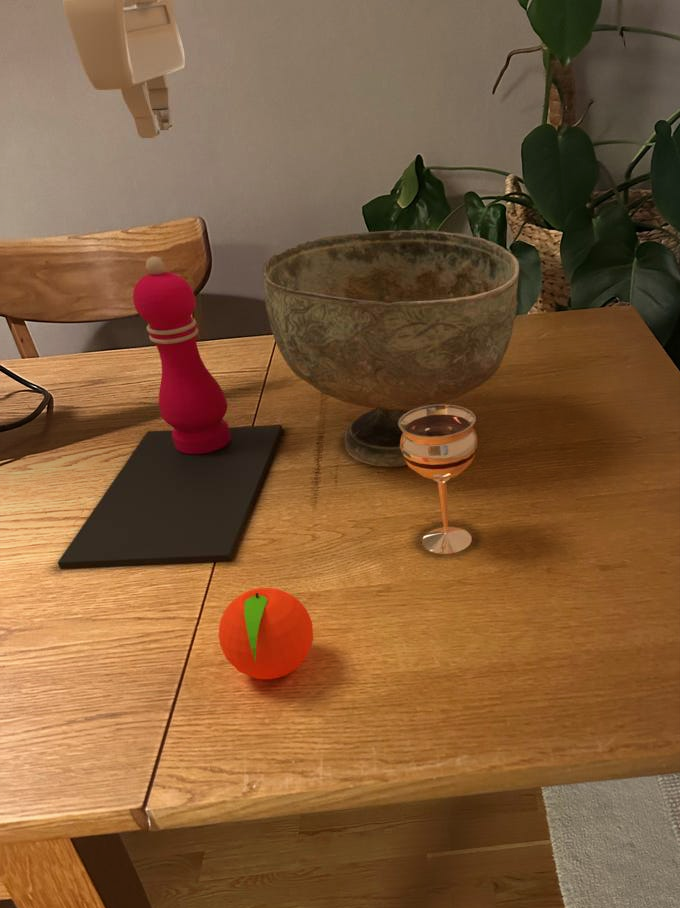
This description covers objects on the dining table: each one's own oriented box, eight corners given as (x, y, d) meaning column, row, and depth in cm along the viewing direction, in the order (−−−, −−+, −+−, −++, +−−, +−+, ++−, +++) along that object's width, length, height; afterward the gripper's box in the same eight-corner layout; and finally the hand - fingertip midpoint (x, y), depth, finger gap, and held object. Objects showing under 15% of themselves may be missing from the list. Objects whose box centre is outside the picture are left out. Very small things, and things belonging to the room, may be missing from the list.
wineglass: (476, 517, 81) (469, 400, 74) (488, 555, 76) (483, 432, 69) (407, 526, 81) (393, 408, 73) (415, 565, 76) (401, 442, 68)
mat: (60, 569, 78) (57, 562, 77) (149, 437, 99) (147, 431, 99) (230, 562, 77) (229, 554, 77) (283, 430, 99) (281, 424, 99)
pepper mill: (245, 444, 95) (200, 256, 82) (183, 463, 92) (126, 271, 79) (222, 423, 100) (176, 243, 87) (162, 440, 97) (106, 256, 84)
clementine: (316, 703, 62) (298, 628, 57) (221, 712, 62) (196, 637, 57) (323, 636, 68) (307, 563, 64) (237, 644, 68) (216, 571, 63)
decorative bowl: (275, 408, 103) (244, 234, 90) (473, 379, 109) (470, 211, 96) (311, 518, 84) (277, 317, 71) (548, 475, 90) (558, 282, 77)
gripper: (116, -40, 84) (156, 119, 93) (35, -41, 69) (92, 152, 77) (178, -44, 84) (212, 116, 93) (111, -45, 68) (160, 148, 77)
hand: (157, 133), depth 85 cm, fingers open, 3 cm apart
